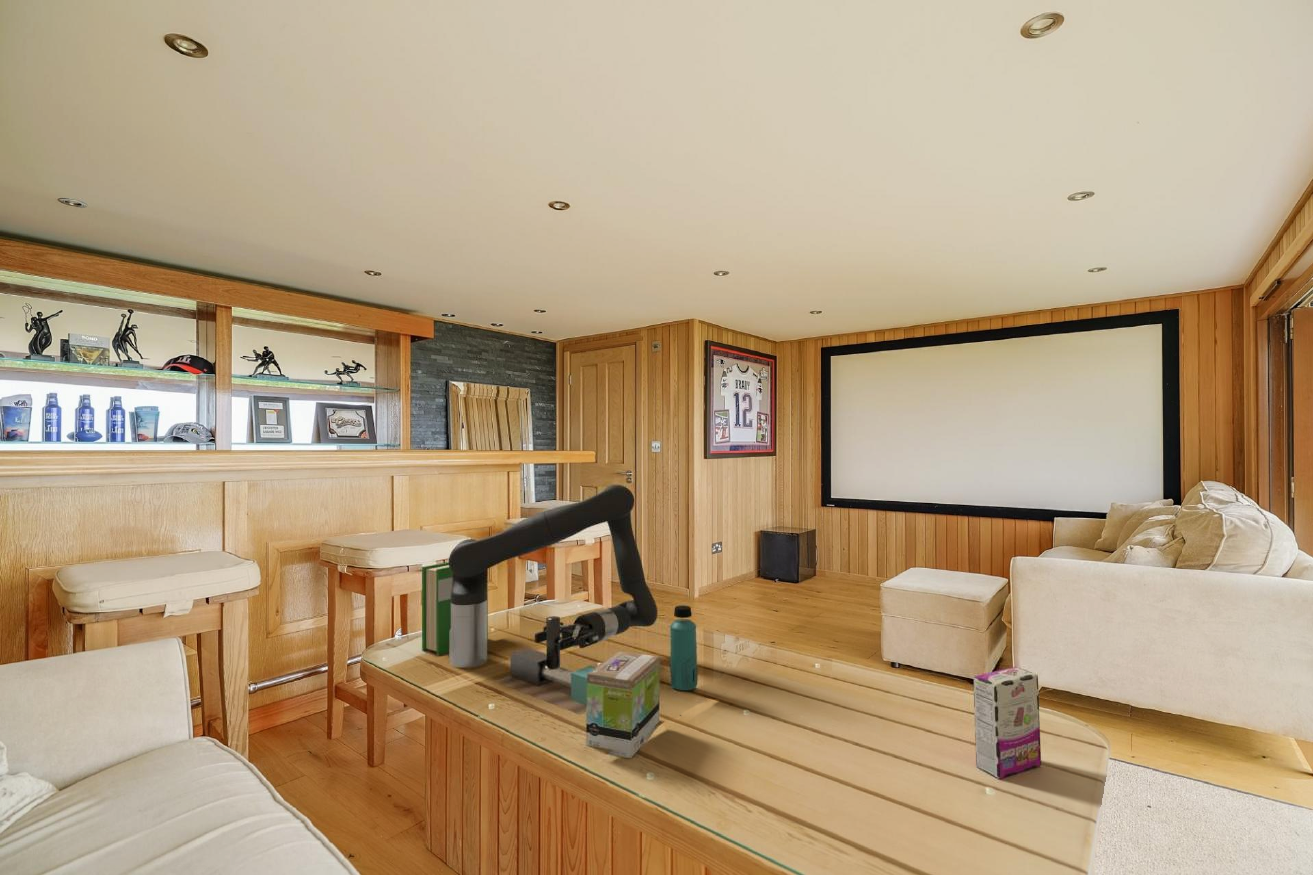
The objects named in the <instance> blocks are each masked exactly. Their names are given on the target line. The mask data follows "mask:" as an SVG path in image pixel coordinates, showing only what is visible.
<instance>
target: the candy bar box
mask: <svg viewBox="0 0 1313 875" xmlns="http://www.w3.org/2000/svg"><path fill="white" fill-rule="evenodd" d="M972 679H973V680H972V681H973V704H974V706H973V707H974V708H973V709H974V733H975V734H974V736H975V738H974V739H975V762H976V764H975V766H976V768H978V769H979V770H981V771H983V772H985V773H986V774H988V775H991V776H993V777H994V778H996V779H997V780H1001V779H1005V778H1008V777H1011V776H1013V775H1014V776H1015V775H1017V774H1020V773H1023V772H1025V771H1029V770H1031V769H1032V770H1033V769H1035V768H1038V767H1040V766H1042V757H1041V756H1042V754H1041V753H1042V752H1041V729H1040V728H1041V726H1040V699H1039V698H1040V697H1039V675H1038V674H1037V673H1034V672H1031V671H1028V670H1026V669H1022V668H1021V667H1017V666H1012V667H1008V668H1004V669H1001V670H1000V669H999V670H996V671H991V672H986V673H982V674H978V675H974V676H972Z"/></svg>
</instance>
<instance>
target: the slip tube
mask: <svg viewBox="0 0 1313 875" xmlns="http://www.w3.org/2000/svg"><path fill="white" fill-rule="evenodd" d="M560 622H561V617H560V616H557V615H555V616H548V617H546V623H545V624H546V625H545V626H546V641H545V642H546V643H545V644H546V654H547V663H546V662H545V663H542V664H540V677H543V678H546V679H548V680H551V681H554V682H557V683H560V684H562V685H565V686H568V687H571V673H572V672H574V671H573V670H569V669H567V668H564V667H561V650H559V649H558V641H559V640H560V637H561V634H560Z"/></svg>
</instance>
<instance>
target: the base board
mask: <svg viewBox="0 0 1313 875" xmlns="http://www.w3.org/2000/svg"><path fill="white" fill-rule="evenodd" d="M494 682H495V683H498V684H500V685H503V686H505V687H507V688H511V689H513V690H516V691H518V692H521V693H523V694H526V695H529V696H531V697H533V698H536V699H539V700H542V701H545V702H547V703H550V704H552V705H555V706H557V707H559V708H562V709H565V710H568V711H570V712H572V713H576V714H577V715H581V714H583V713H586V707H587V706H586V705H584V704H581V703H578V702H576V701H573V700H571V687H568V686H565V685H562V684H560V683H557V682H554V681H551V682H549V683H546V684H543V685H541V686H538V687H537V686H535V685H532V684H529V683H527V682H524V681H521V680H519V679H516V678H513V677H511V675H508V676H506V677H502V678H500V679H497V680H494Z"/></svg>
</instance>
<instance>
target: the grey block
mask: <svg viewBox="0 0 1313 875" xmlns="http://www.w3.org/2000/svg"><path fill="white" fill-rule="evenodd" d="M509 655H510V660H509V661H510V663H509V664H510V676H511V677H513V678H516V679H519V680H521V681H524V682H527V683H529V684H532V685H535V686H537V687H538V686H541V685H543V684H546V683H549V682H551V680H548V679H546V678H543V677H540V664H542V663H545V662H546V663H547V652H543V651H539V650H536V649H532V648H529V647H527V648H524V649H519V650H516V651H514V652H511V653H510V654H509Z"/></svg>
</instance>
